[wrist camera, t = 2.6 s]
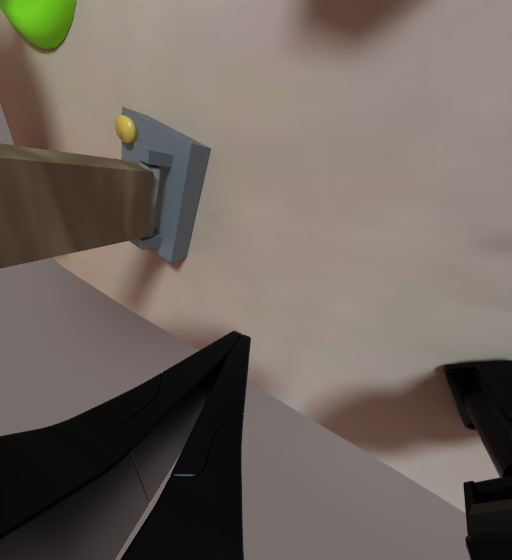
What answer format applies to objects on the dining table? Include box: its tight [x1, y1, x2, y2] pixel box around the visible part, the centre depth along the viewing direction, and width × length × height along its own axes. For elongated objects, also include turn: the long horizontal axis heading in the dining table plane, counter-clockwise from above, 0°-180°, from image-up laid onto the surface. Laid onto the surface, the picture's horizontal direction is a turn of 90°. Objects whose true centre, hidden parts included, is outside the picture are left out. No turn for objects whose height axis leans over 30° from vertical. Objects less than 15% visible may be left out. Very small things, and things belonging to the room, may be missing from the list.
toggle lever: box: [0, 144, 161, 268], centre depth 12 cm, size 4×6×17 cm, turn 156°
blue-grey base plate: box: [115, 107, 211, 263], centre depth 20 cm, size 8×12×5 cm, turn 156°
